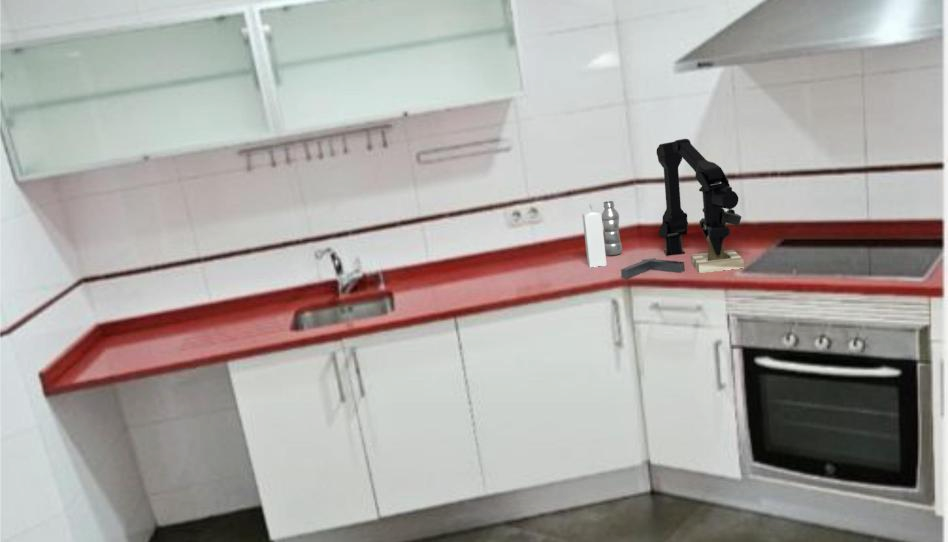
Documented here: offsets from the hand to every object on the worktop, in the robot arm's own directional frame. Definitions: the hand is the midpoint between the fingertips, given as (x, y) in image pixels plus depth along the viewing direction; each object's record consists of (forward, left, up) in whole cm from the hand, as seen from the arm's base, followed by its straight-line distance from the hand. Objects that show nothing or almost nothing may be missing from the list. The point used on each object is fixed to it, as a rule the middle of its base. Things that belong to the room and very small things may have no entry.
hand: (716, 252), depth 265 cm
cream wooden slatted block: (0, 0, -4) cm, 4 cm away
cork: (0, 0, -5) cm, 5 cm away
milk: (-20, -38, -5) cm, 43 cm away
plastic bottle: (-33, -31, -5) cm, 46 cm away
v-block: (-2, -21, -4) cm, 22 cm away
